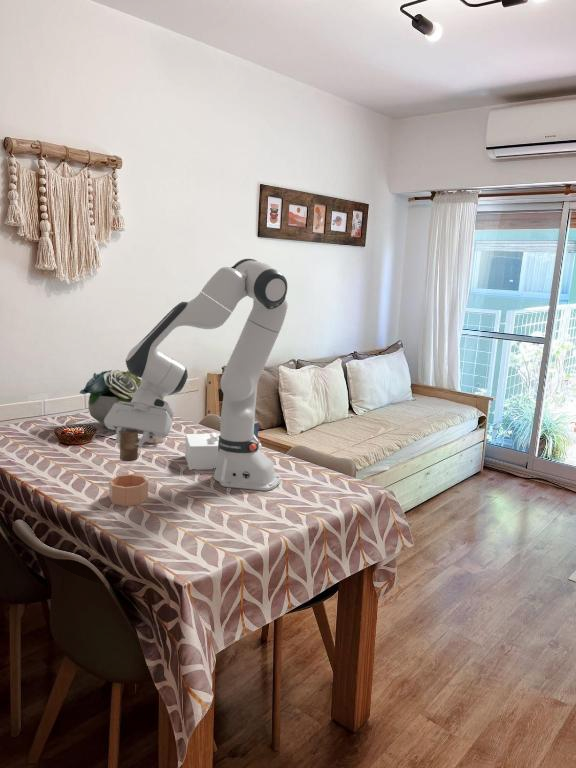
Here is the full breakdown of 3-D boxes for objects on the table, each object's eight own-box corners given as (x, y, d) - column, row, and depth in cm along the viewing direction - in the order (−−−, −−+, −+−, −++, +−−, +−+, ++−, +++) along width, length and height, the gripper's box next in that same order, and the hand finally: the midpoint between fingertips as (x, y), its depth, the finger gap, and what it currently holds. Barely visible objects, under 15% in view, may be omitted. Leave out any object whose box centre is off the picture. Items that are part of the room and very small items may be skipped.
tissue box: (185, 456, 215) (186, 427, 213) (251, 455, 222) (253, 427, 220) (189, 470, 202) (190, 439, 199) (260, 468, 208) (262, 438, 206)
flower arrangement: (123, 439, 229) (124, 378, 224) (70, 429, 237) (70, 370, 232) (157, 424, 252) (158, 368, 247) (108, 416, 260) (108, 361, 255)
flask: (254, 441, 238) (255, 416, 235) (259, 443, 236) (261, 417, 234) (239, 446, 230) (240, 420, 228) (244, 448, 228) (246, 421, 226)
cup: (153, 495, 178) (153, 478, 177) (134, 508, 168) (135, 489, 167) (122, 489, 181) (122, 472, 180) (103, 501, 171) (103, 483, 170)
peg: (140, 457, 174) (141, 431, 172) (131, 462, 169) (132, 435, 167) (125, 454, 175) (126, 428, 173) (116, 459, 170) (116, 433, 169)
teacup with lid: (138, 439, 231) (138, 410, 229) (158, 435, 237) (159, 407, 235) (154, 447, 222) (154, 417, 220) (174, 443, 229) (175, 414, 226)
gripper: (111, 394, 178) (92, 434, 171) (172, 403, 173) (155, 444, 165) (119, 406, 183) (101, 444, 176) (179, 415, 178) (162, 455, 170)
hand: (127, 444), depth 170 cm, fingers closed on peg, 5 cm apart
